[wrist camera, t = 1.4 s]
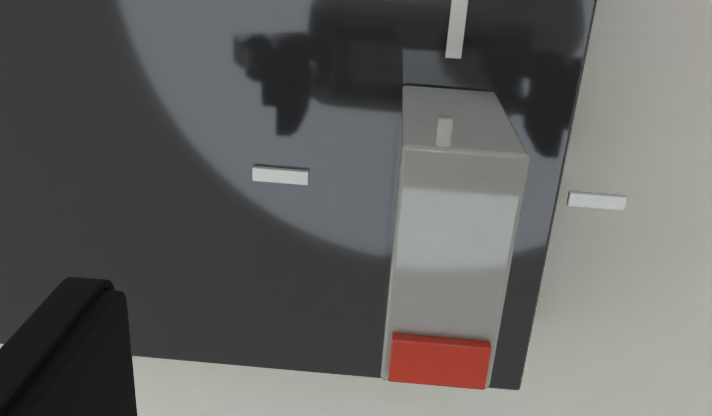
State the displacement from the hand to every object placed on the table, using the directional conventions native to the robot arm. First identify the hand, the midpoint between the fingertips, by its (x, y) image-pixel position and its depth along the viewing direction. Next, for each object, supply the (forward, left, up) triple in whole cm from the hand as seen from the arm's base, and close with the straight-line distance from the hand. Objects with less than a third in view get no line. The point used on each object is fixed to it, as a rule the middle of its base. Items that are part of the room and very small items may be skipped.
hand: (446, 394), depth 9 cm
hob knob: (0, 0, -8) cm, 8 cm away
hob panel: (0, -5, -11) cm, 12 cm away
